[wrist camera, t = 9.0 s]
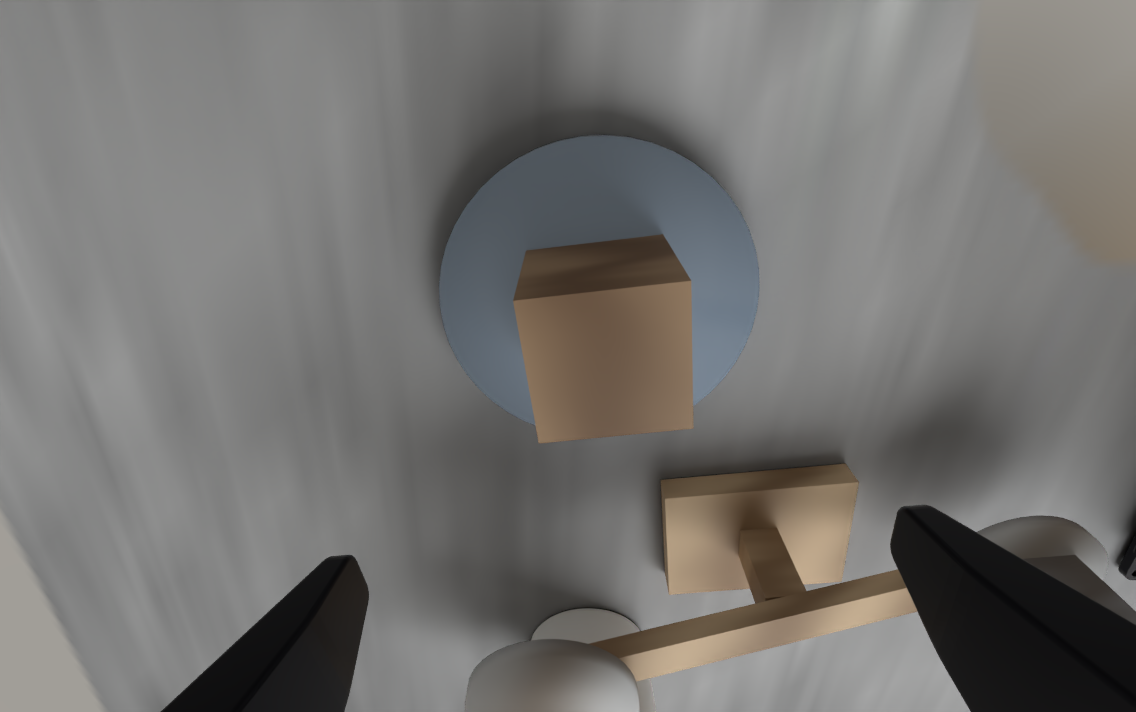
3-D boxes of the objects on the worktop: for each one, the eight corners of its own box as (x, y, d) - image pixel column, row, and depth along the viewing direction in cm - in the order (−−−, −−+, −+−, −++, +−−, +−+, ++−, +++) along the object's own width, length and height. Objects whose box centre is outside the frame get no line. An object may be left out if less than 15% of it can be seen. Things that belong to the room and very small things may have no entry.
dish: (755, 111, 17) (768, 114, 16) (743, 405, 22) (752, 422, 21) (412, 155, 17) (402, 160, 16) (478, 431, 22) (474, 448, 21)
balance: (1038, 446, 22) (1243, 607, 16) (1001, 547, 25) (1162, 722, 18) (482, 495, 24) (447, 663, 17) (505, 586, 27) (482, 762, 20)
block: (662, 234, 17) (691, 280, 13) (667, 356, 19) (693, 428, 15) (526, 250, 17) (513, 300, 13) (545, 369, 19) (538, 443, 15)
